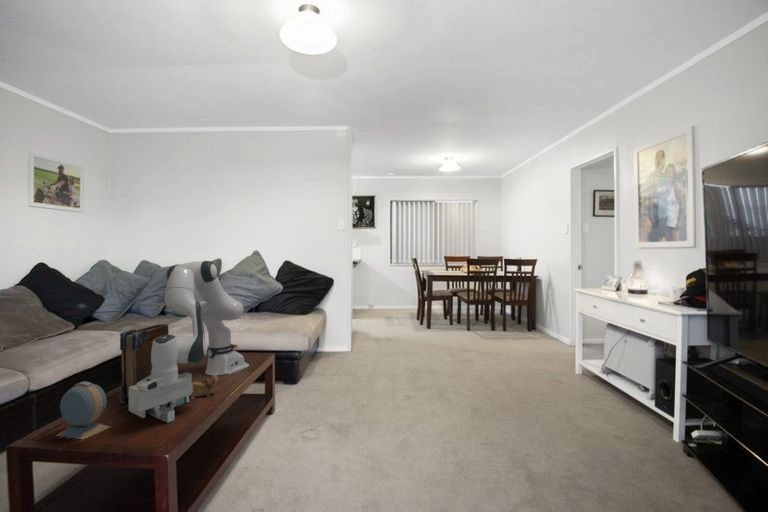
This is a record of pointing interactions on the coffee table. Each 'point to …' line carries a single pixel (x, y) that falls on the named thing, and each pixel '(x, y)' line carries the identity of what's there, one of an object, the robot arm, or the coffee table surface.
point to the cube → (177, 402)
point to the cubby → (131, 401)
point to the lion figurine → (205, 385)
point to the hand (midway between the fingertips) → (164, 414)
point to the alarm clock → (83, 410)
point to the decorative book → (137, 356)
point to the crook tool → (167, 413)
